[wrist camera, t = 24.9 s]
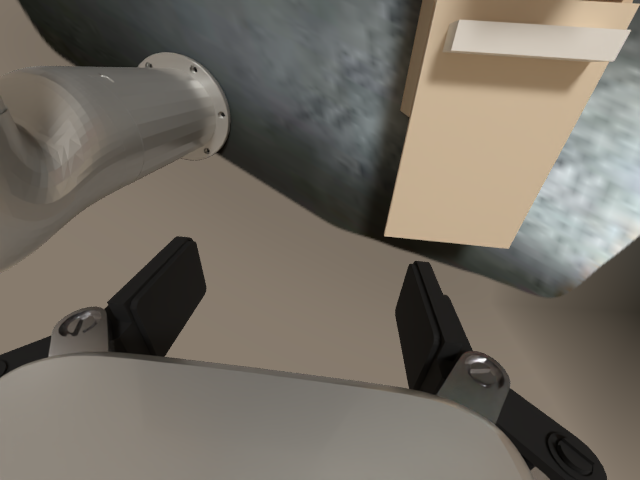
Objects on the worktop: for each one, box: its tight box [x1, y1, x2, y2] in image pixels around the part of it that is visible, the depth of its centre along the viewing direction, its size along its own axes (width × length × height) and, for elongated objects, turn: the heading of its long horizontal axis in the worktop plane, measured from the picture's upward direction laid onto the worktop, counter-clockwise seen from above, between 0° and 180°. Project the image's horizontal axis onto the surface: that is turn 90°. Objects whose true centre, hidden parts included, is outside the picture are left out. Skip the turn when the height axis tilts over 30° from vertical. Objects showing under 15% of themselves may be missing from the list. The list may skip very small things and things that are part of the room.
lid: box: [384, 0, 640, 249], centre depth 27 cm, size 16×24×3 cm, turn 176°
